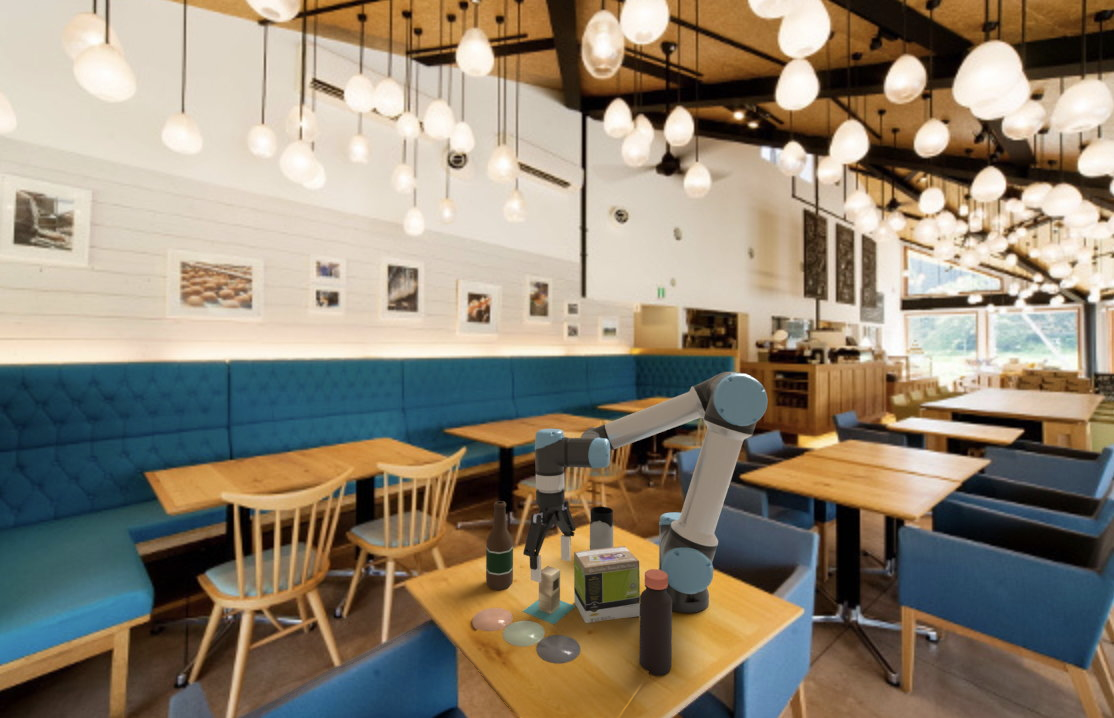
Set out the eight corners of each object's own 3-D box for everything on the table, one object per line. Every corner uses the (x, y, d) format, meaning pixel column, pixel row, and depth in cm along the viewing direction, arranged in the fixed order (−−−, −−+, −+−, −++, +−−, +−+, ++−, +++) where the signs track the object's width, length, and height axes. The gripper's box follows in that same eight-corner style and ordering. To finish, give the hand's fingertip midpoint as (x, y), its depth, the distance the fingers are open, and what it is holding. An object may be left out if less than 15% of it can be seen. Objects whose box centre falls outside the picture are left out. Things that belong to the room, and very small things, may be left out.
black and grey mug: (585, 558, 151) (586, 513, 151) (594, 541, 165) (594, 499, 165) (612, 562, 149) (612, 516, 149) (618, 544, 162) (619, 502, 162)
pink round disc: (520, 618, 117) (520, 616, 117) (494, 638, 109) (494, 636, 109) (491, 606, 123) (491, 603, 122) (464, 624, 114) (464, 621, 114)
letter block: (560, 607, 121) (560, 569, 121) (551, 614, 118) (551, 575, 117) (547, 602, 123) (547, 565, 123) (538, 609, 120) (538, 571, 120)
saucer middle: (552, 632, 111) (552, 629, 111) (527, 654, 103) (527, 651, 103) (520, 618, 117) (520, 616, 117) (494, 638, 109) (494, 636, 109)
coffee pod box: (625, 597, 127) (625, 544, 127) (640, 617, 118) (641, 560, 117) (573, 604, 124) (573, 549, 123) (584, 626, 114) (584, 566, 114)
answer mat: (575, 608, 122) (575, 606, 122) (554, 626, 113) (554, 624, 113) (545, 596, 127) (545, 594, 127) (522, 613, 119) (522, 611, 119)
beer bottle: (518, 583, 135) (518, 501, 134) (498, 593, 129) (499, 508, 128) (500, 574, 140) (500, 496, 139) (480, 584, 134) (480, 502, 133)
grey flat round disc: (588, 647, 106) (588, 644, 106) (564, 672, 97) (564, 669, 97) (552, 632, 111) (552, 629, 111) (527, 654, 103) (527, 651, 103)
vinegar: (644, 677, 96) (645, 582, 96) (635, 656, 103) (636, 567, 102) (676, 675, 97) (677, 581, 96) (665, 654, 103) (666, 566, 103)
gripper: (564, 476, 132) (565, 549, 133) (507, 499, 112) (509, 586, 112) (586, 479, 128) (588, 555, 128) (532, 504, 107) (534, 594, 108)
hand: (551, 569), depth 120 cm, fingers open, 13 cm apart
